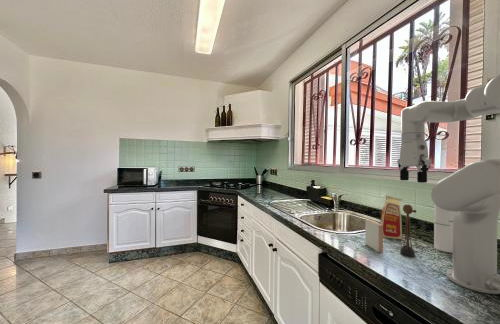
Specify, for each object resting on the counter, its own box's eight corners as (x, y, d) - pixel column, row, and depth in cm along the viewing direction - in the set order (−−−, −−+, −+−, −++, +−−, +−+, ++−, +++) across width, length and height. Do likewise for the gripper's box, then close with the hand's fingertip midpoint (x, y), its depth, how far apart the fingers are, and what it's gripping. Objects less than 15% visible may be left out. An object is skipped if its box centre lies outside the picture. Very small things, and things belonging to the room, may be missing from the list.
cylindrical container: (461, 253, 89) (461, 191, 89) (440, 251, 90) (441, 190, 90) (449, 246, 96) (449, 188, 96) (430, 245, 97) (430, 188, 97)
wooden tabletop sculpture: (420, 258, 84) (420, 205, 84) (408, 258, 84) (409, 206, 84) (408, 251, 90) (408, 202, 90) (397, 252, 90) (397, 203, 90)
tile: (382, 252, 90) (383, 225, 90) (378, 252, 90) (378, 225, 90) (369, 244, 99) (369, 219, 99) (365, 244, 99) (365, 219, 99)
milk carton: (382, 237, 108) (382, 196, 108) (380, 231, 116) (380, 193, 116) (404, 239, 104) (404, 197, 104) (400, 233, 112) (401, 194, 112)
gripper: (440, 135, 79) (440, 183, 79) (407, 140, 97) (407, 179, 97) (419, 135, 79) (419, 183, 79) (389, 140, 97) (389, 179, 97)
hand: (412, 181), depth 88 cm, fingers open, 9 cm apart
